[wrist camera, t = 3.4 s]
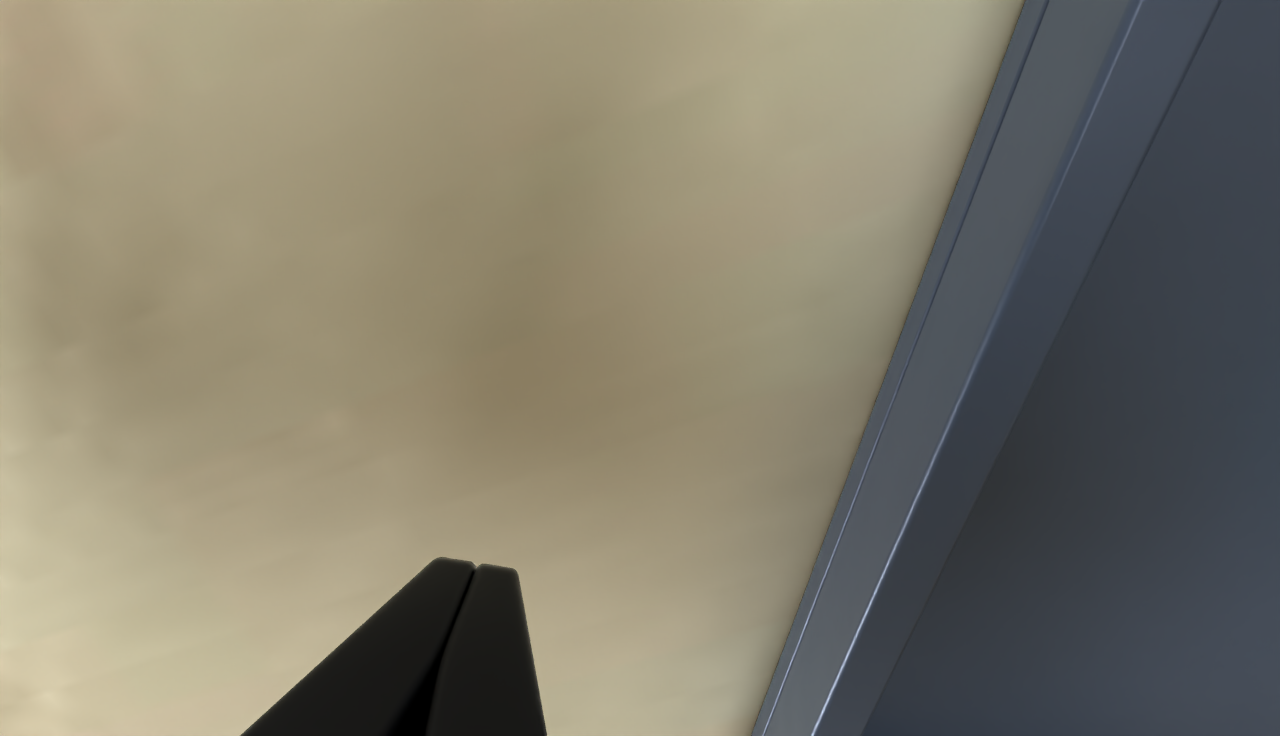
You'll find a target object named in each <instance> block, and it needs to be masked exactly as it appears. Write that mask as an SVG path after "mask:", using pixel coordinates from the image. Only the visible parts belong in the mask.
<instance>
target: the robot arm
mask: <svg viewBox="0 0 1280 736" xmlns="http://www.w3.org/2000/svg"><path fill="white" fill-rule="evenodd" d="M240 736H547V732H546V727H545V721H544V716H543V710H542V704H541V699H540V693H539V688H538V682H537V676H536V671H535V665H534V660H533V654H532V649H531V643H530V637H529V632H528V626H527V621H526V615H525V609H524V604H523V598H522V593H521V587H520V581H519V576H518V573H517V571H516V570H515V569H513V568H508V567H502V566H496V565H490V564H481V565H479V566H478V567H477V568H476V565H475V564H474V563H472V562H470V561H464V560H458V559H452V558H445V557H439V558H436V559H434V560H433V561H432V562H431V563H429V564H428V565H427V566H426V567H425V568H424V569H423V570H422V571H421V572H420V573H418V574H417V575H416V576H415V577H414V578H413V579H412V580H411V581H410V582H409V583H407V584H406V585H405V586H404V587H403V588H402V589H401V590H400V591H399V592H398V593H396V594H395V595H394V596H393V597H392V598H391V599H390V600H389V601H388V602H387V603H386V604H384V605H383V606H382V607H381V608H380V609H379V610H378V611H377V612H376V613H375V614H373V615H372V616H371V617H370V618H369V619H368V620H367V621H366V622H365V623H364V624H362V625H361V626H360V627H359V628H358V629H357V630H356V631H355V632H354V633H353V634H351V635H350V636H349V637H348V638H347V639H346V640H345V641H344V642H343V643H342V644H340V645H339V646H338V647H337V648H336V649H335V650H334V651H333V652H332V653H331V654H329V655H328V656H327V657H326V658H325V659H324V660H323V661H322V662H321V663H320V664H318V665H317V666H316V667H315V668H314V669H313V670H312V671H311V672H310V673H309V674H307V675H306V676H305V677H304V678H303V679H302V680H301V681H300V682H299V683H298V684H296V685H295V686H294V687H293V688H292V689H291V690H290V691H289V692H288V693H287V694H285V695H284V696H283V697H282V698H281V699H280V700H279V701H278V702H277V703H276V704H274V705H273V706H272V707H271V708H270V709H269V710H268V711H267V712H266V713H265V714H263V715H262V716H261V717H260V718H259V719H258V720H257V721H256V722H255V723H254V724H252V725H251V726H250V727H249V728H248V729H247V730H246V731H245V732H244V733H243V734H241V735H240Z"/></svg>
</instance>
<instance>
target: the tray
mask: <svg viewBox="0 0 1280 736" xmlns="http://www.w3.org/2000/svg"><path fill="white" fill-rule="evenodd" d="M751 736H1280V0H1026V1H1025V3H1024V6H1023V9H1022V11H1021V14H1020V17H1019V19H1018V22H1017V25H1016V27H1015V30H1014V33H1013V36H1012V38H1011V41H1010V44H1009V46H1008V49H1007V52H1006V54H1005V57H1004V60H1003V62H1002V65H1001V68H1000V70H999V73H998V76H997V78H996V81H995V84H994V86H993V89H992V92H991V94H990V97H989V100H988V103H987V105H986V108H985V111H984V113H983V116H982V119H981V121H980V124H979V127H978V129H977V132H976V135H975V137H974V140H973V143H972V145H971V148H970V151H969V153H968V156H967V159H966V161H965V164H964V167H963V169H962V172H961V175H960V178H959V180H958V183H957V186H956V188H955V191H954V194H953V196H952V199H951V202H950V204H949V207H948V210H947V212H946V215H945V218H944V220H943V223H942V226H941V228H940V231H939V234H938V236H937V239H936V242H935V244H934V247H933V250H932V253H931V255H930V258H929V261H928V263H927V266H926V269H925V271H924V274H923V277H922V279H921V282H920V285H919V287H918V290H917V293H916V295H915V298H914V301H913V303H912V306H911V309H910V311H909V314H908V317H907V319H906V322H905V325H904V328H903V330H902V333H901V336H900V338H899V341H898V344H897V346H896V349H895V352H894V354H893V357H892V360H891V362H890V365H889V368H888V370H887V373H886V376H885V378H884V381H883V384H882V386H881V389H880V392H879V394H878V397H877V400H876V403H875V405H874V408H873V411H872V413H871V416H870V419H869V421H868V424H867V427H866V429H865V432H864V435H863V437H862V440H861V443H860V445H859V448H858V451H857V453H856V456H855V459H854V461H853V464H852V467H851V469H850V472H849V475H848V478H847V480H846V483H845V486H844V488H843V491H842V494H841V496H840V499H839V502H838V504H837V507H836V510H835V512H834V515H833V518H832V520H831V523H830V526H829V528H828V531H827V534H826V536H825V539H824V542H823V544H822V547H821V550H820V553H819V555H818V558H817V561H816V563H815V566H814V569H813V571H812V574H811V577H810V579H809V582H808V585H807V587H806V590H805V593H804V595H803V598H802V601H801V603H800V606H799V609H798V611H797V614H796V617H795V620H794V622H793V625H792V628H791V630H790V633H789V636H788V638H787V641H786V644H785V646H784V649H783V652H782V654H781V657H780V660H779V662H778V665H777V668H776V670H775V673H774V676H773V678H772V681H771V684H770V686H769V689H768V692H767V695H766V697H765V700H764V703H763V705H762V708H761V711H760V713H759V716H758V719H757V721H756V724H755V727H754V729H753V732H752V735H751Z"/></svg>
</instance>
